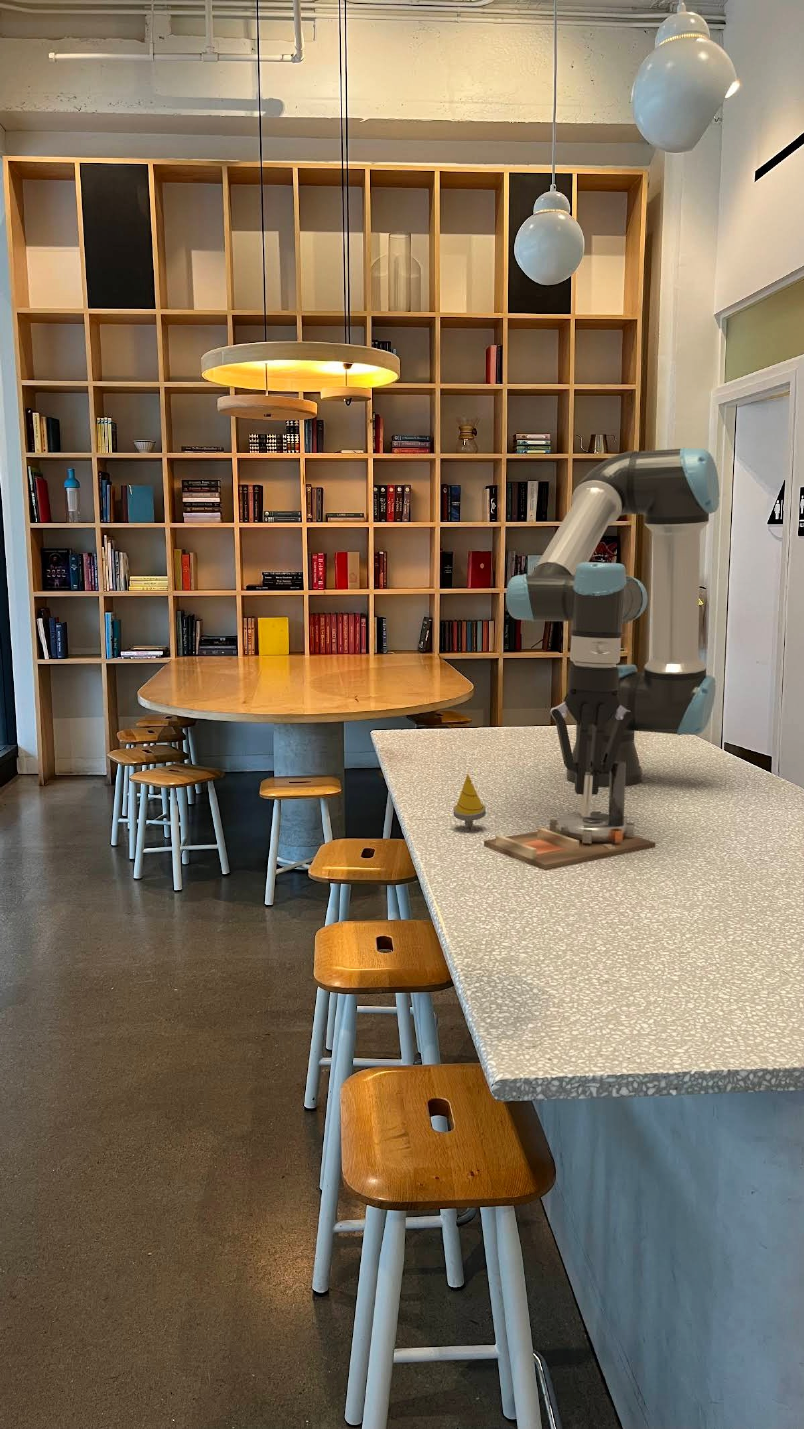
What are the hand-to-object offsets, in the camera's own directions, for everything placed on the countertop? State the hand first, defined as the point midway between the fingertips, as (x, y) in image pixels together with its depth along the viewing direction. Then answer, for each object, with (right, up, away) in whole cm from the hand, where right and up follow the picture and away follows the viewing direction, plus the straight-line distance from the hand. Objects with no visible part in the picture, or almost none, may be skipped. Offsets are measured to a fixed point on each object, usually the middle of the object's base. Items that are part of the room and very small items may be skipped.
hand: (584, 814), depth 159 cm
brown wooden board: (-2, -5, 0) cm, 6 cm away
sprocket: (+2, -3, +4) cm, 5 cm away
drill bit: (-17, -4, +12) cm, 21 cm away
